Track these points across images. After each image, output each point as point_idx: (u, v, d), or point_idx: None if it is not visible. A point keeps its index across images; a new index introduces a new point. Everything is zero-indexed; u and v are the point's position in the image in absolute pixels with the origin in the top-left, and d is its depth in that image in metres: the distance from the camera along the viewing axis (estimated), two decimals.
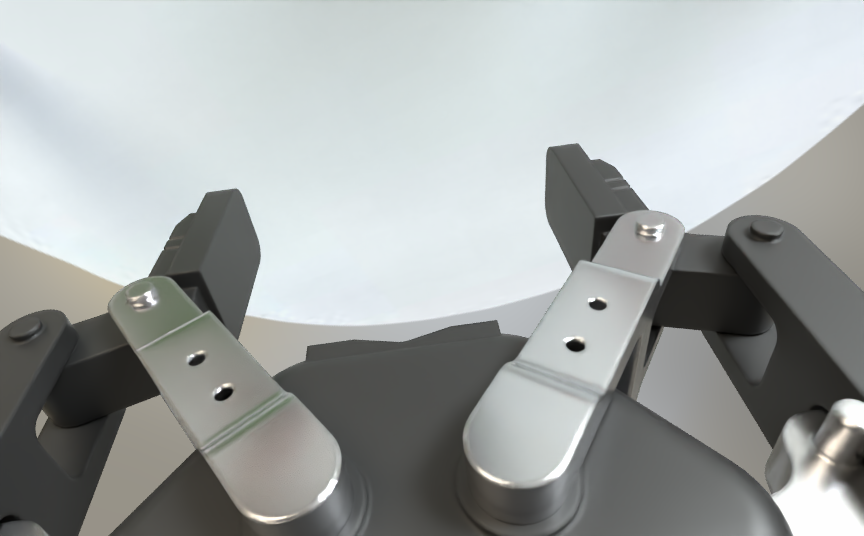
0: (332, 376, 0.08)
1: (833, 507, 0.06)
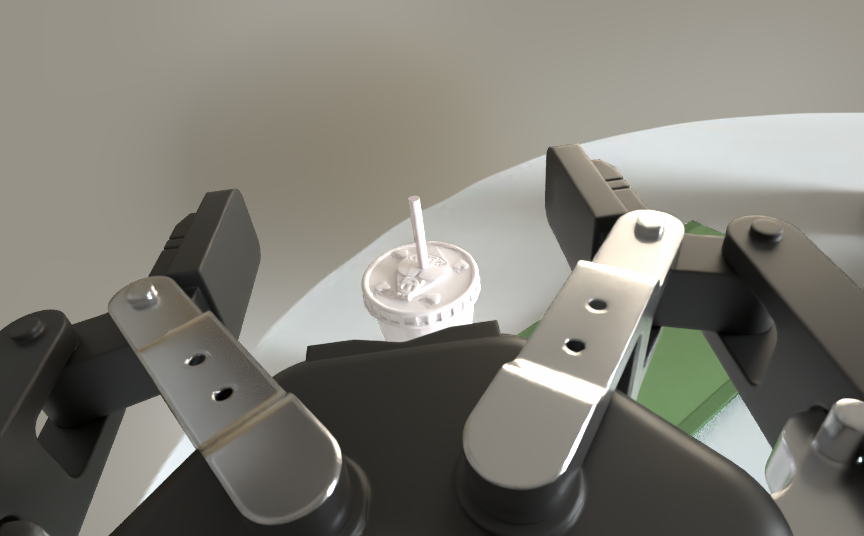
0: (332, 376, 0.08)
1: (833, 507, 0.06)
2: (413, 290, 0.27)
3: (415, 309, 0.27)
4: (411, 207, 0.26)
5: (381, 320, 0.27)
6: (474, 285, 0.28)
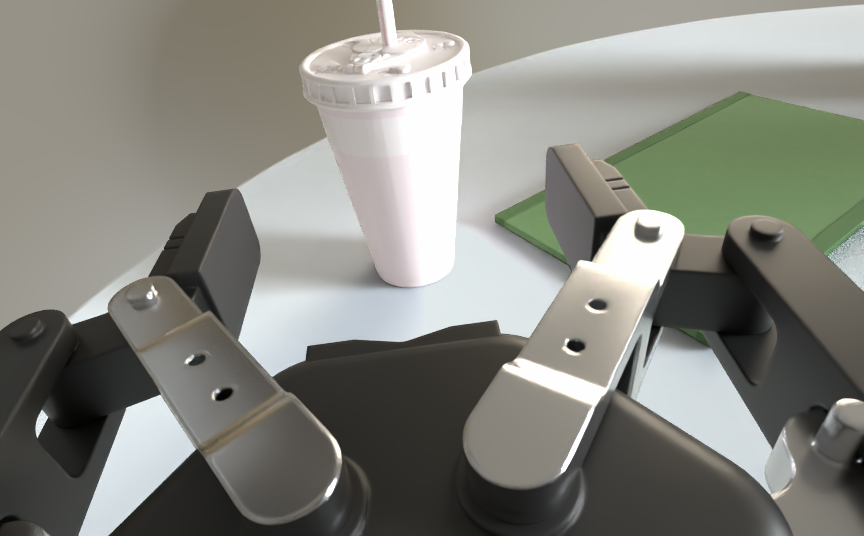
0: (332, 376, 0.08)
1: (833, 507, 0.06)
2: (372, 62, 0.19)
3: (372, 79, 0.18)
4: None
5: (323, 104, 0.18)
6: (462, 56, 0.19)
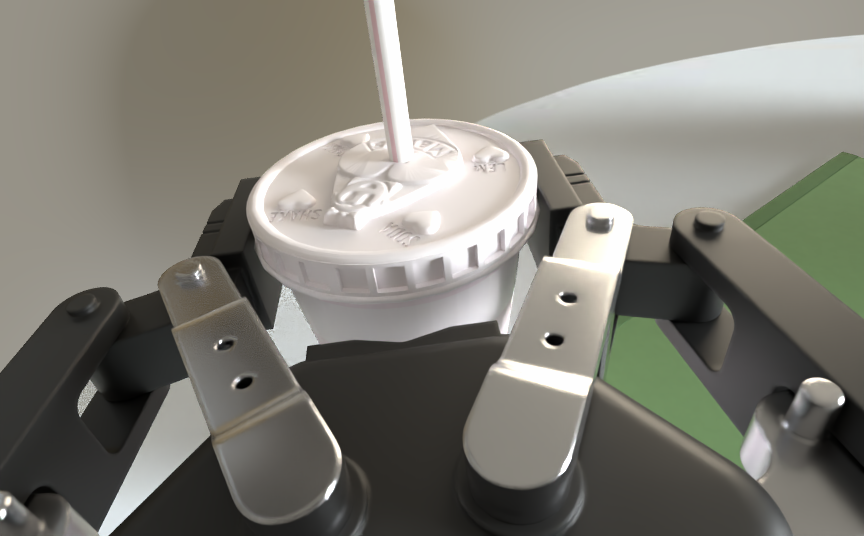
0: (332, 376, 0.08)
1: (813, 485, 0.07)
2: (371, 204, 0.11)
3: (372, 248, 0.10)
4: None
5: (285, 281, 0.10)
6: (530, 193, 0.11)
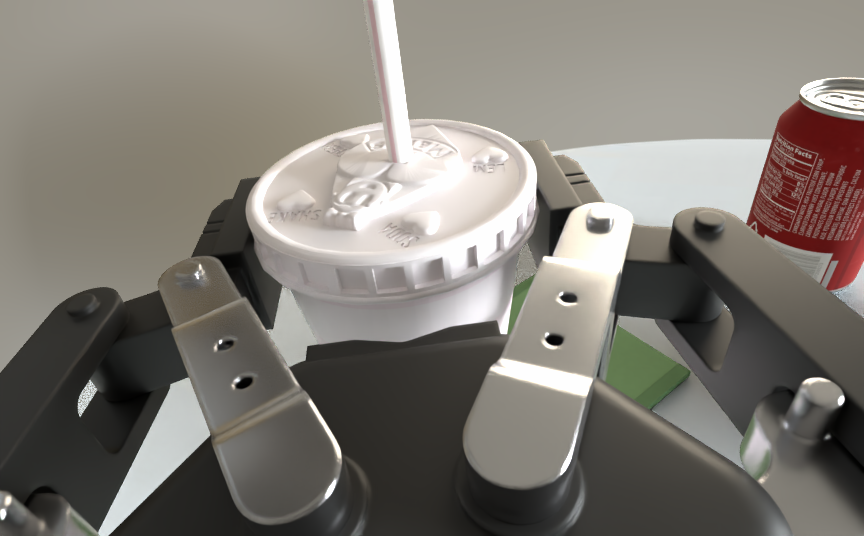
0: (332, 376, 0.08)
1: (813, 485, 0.07)
2: (370, 204, 0.11)
3: (371, 249, 0.10)
4: None
5: (285, 282, 0.10)
6: (529, 193, 0.11)
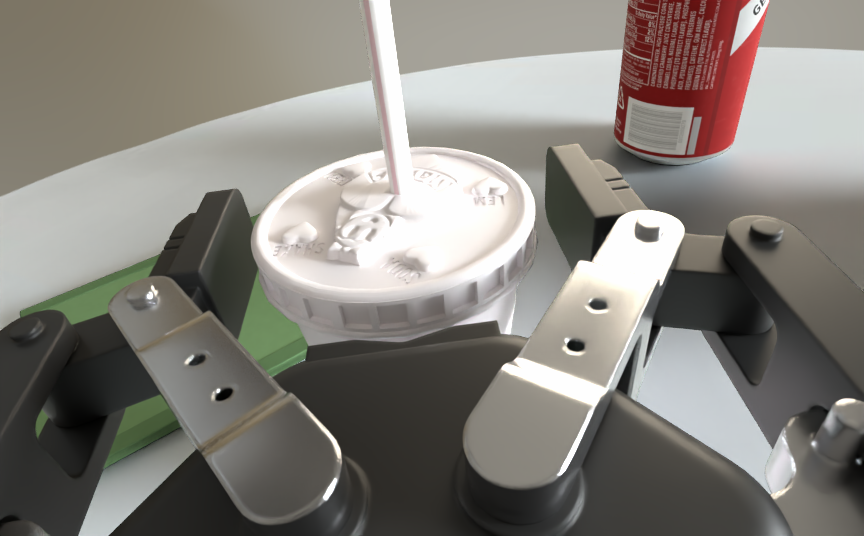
0: (332, 376, 0.08)
1: (833, 507, 0.06)
2: (373, 239, 0.11)
3: (374, 285, 0.10)
4: (365, 8, 0.10)
5: (289, 315, 0.11)
6: (528, 228, 0.11)
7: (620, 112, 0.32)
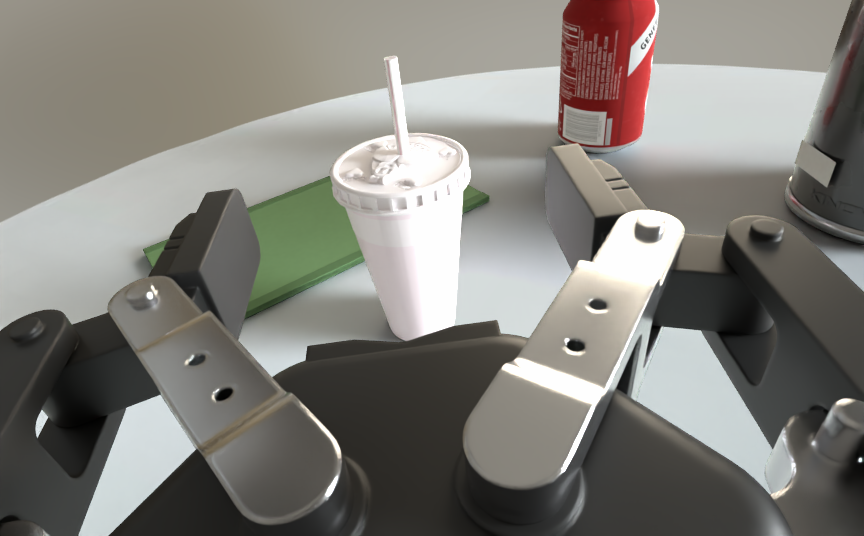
0: (332, 376, 0.08)
1: (833, 507, 0.06)
2: (390, 173, 0.23)
3: (391, 191, 0.22)
4: (387, 68, 0.22)
5: (351, 208, 0.23)
6: (462, 168, 0.23)
7: (559, 115, 0.44)
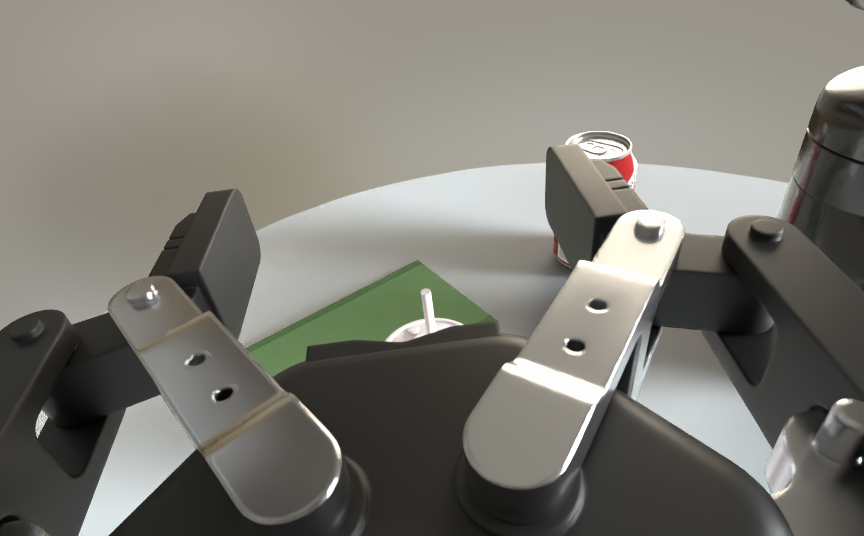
0: (332, 376, 0.08)
1: (833, 507, 0.06)
2: None
3: None
4: (423, 299, 0.30)
5: None
6: None
7: (555, 239, 0.52)
